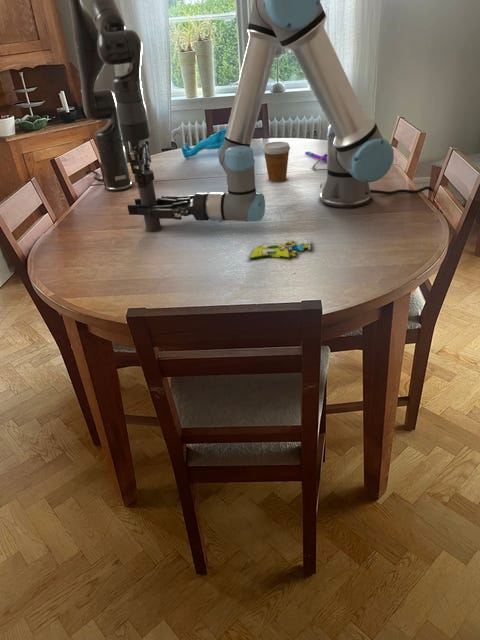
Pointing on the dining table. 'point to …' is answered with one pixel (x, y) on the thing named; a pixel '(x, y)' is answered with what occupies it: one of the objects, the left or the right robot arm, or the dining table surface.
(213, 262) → the dining table surface
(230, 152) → the right robot arm
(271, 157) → the disposable coffee cup
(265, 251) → the toy
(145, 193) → the jar
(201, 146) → the toy
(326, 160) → the musical instrument
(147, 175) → the lid
